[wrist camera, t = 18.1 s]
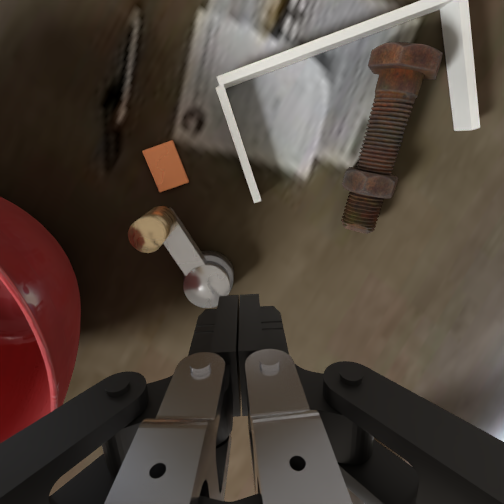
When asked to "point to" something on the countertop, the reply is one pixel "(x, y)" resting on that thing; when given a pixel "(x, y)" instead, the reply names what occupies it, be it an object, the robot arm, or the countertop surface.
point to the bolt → (386, 128)
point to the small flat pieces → (172, 175)
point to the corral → (453, 27)
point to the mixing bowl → (34, 320)
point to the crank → (181, 255)
